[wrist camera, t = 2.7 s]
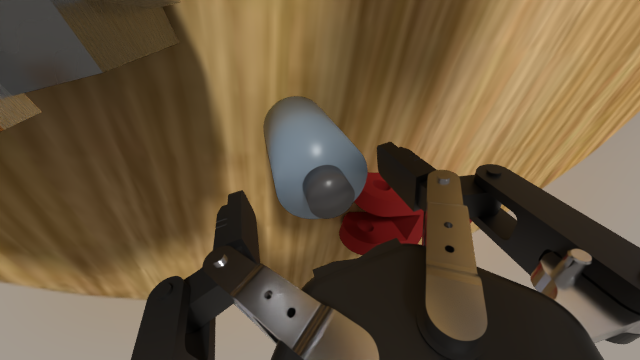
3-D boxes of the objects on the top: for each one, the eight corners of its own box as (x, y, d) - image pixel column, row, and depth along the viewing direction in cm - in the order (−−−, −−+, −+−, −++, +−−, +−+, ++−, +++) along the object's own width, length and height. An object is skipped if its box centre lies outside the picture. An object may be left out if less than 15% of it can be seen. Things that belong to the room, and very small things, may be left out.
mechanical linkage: (333, 223, 27) (349, 258, 23) (348, 171, 23) (370, 202, 19) (438, 216, 32) (466, 243, 28) (464, 173, 29) (500, 197, 25)
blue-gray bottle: (319, 88, 18) (377, 139, 10) (330, 146, 21) (381, 218, 13) (253, 107, 17) (264, 176, 10) (275, 164, 20) (296, 249, 13)
